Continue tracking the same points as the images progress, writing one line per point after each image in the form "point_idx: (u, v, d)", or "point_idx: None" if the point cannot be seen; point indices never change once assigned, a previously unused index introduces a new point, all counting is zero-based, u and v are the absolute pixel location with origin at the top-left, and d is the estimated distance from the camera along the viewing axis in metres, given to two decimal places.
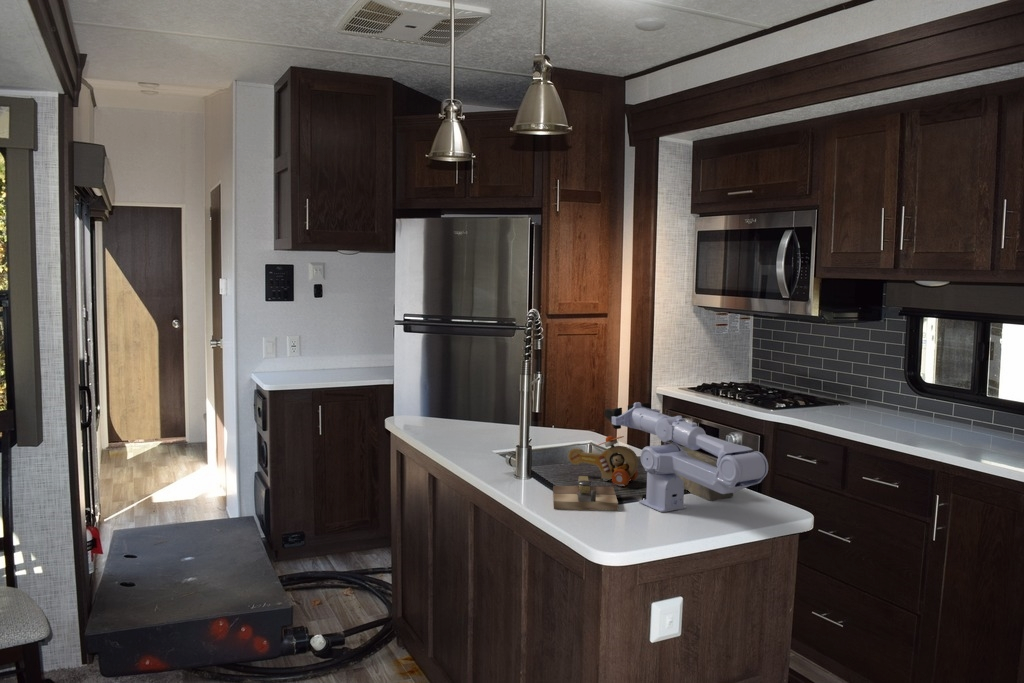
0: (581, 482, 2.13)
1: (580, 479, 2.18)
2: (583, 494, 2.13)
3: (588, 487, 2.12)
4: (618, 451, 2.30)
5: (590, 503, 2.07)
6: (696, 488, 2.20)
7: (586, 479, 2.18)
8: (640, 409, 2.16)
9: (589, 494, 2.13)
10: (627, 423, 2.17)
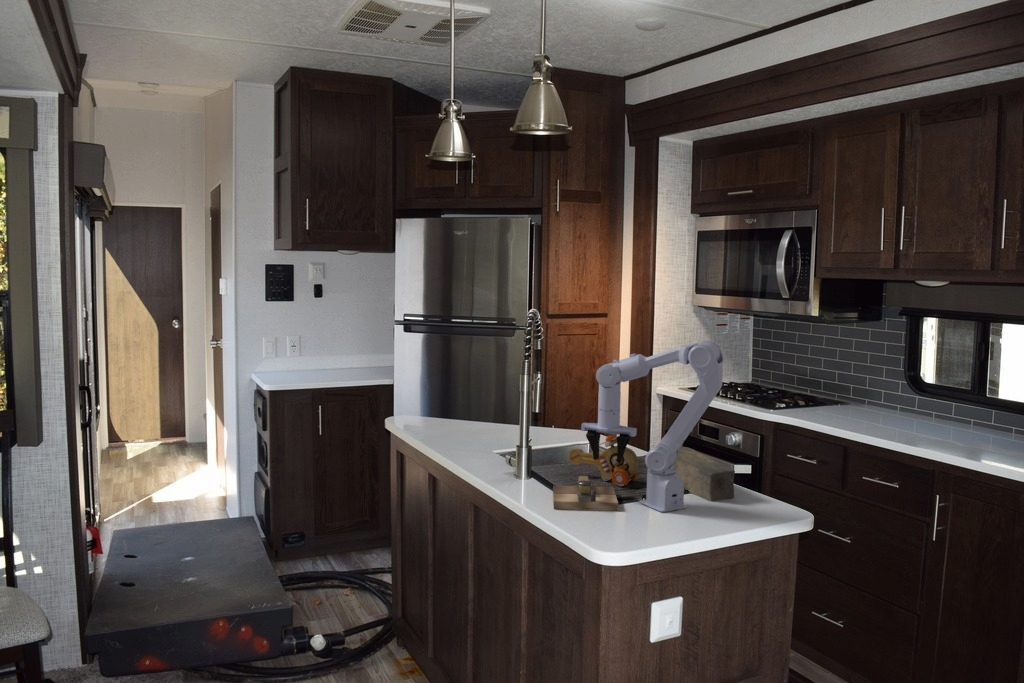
0: (581, 482, 2.13)
1: (580, 479, 2.18)
2: (583, 494, 2.13)
3: (588, 487, 2.12)
4: None
5: (590, 503, 2.07)
6: (697, 488, 2.20)
7: (586, 479, 2.18)
8: (608, 420, 2.13)
9: (589, 494, 2.13)
10: None
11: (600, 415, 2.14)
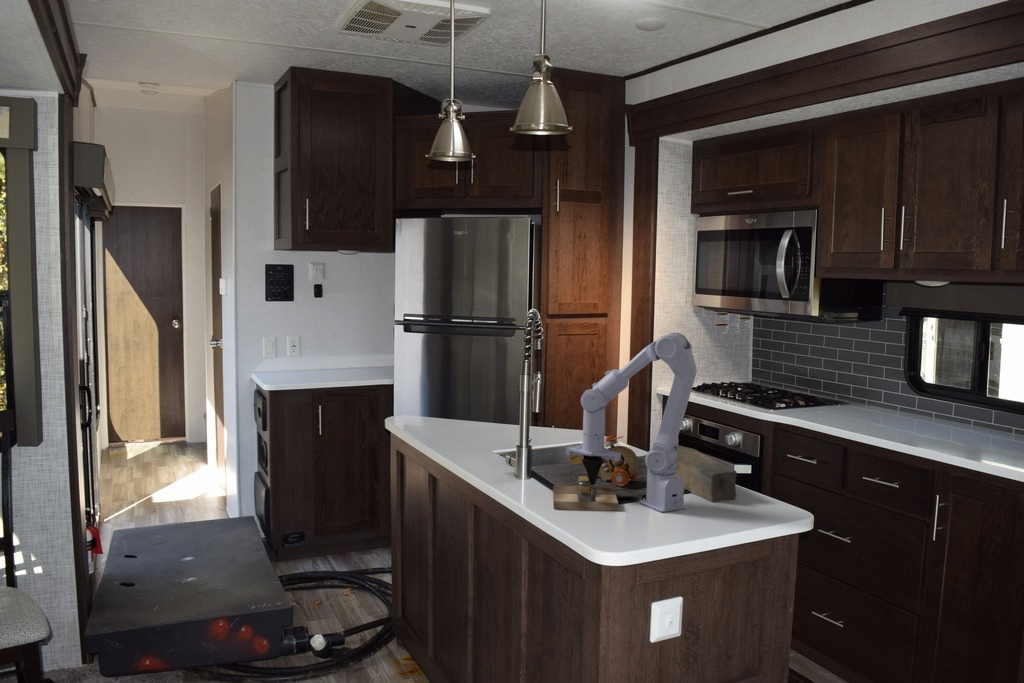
0: (581, 482, 2.13)
1: (580, 479, 2.18)
2: (583, 494, 2.13)
3: (588, 487, 2.12)
4: (618, 451, 2.30)
5: (590, 503, 2.07)
6: (698, 489, 2.19)
7: (586, 479, 2.18)
8: (592, 445, 2.15)
9: (589, 494, 2.13)
10: None
11: (585, 439, 2.16)
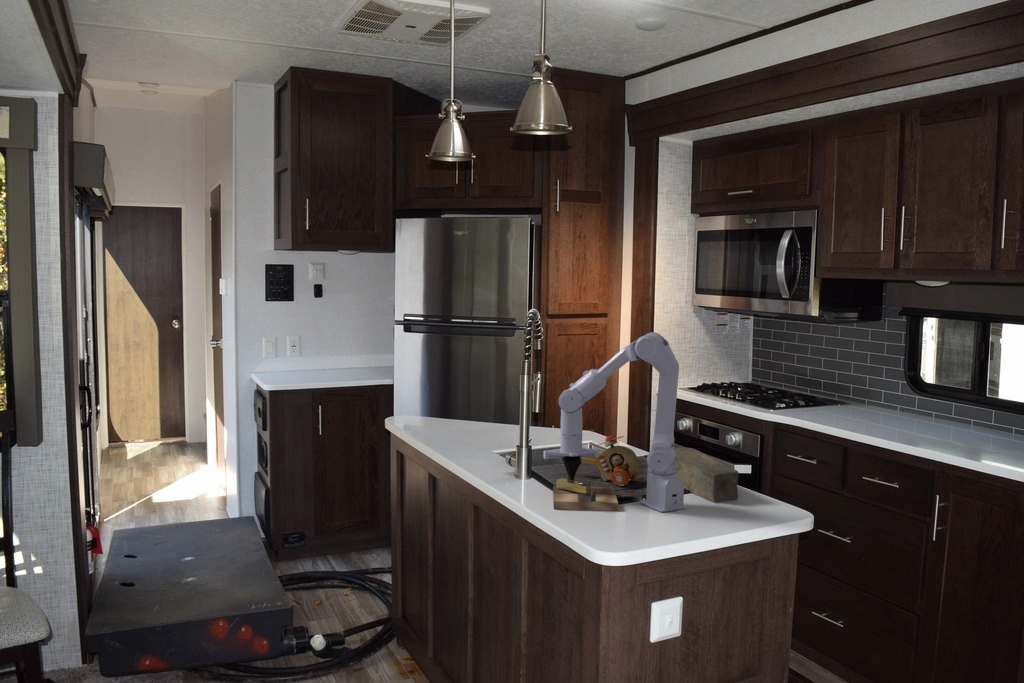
0: (583, 483, 2.12)
1: (567, 481, 2.15)
2: (583, 494, 2.13)
3: (590, 486, 2.13)
4: (618, 451, 2.30)
5: (590, 503, 2.07)
6: (700, 490, 2.19)
7: (570, 480, 2.17)
8: (576, 445, 2.15)
9: (589, 494, 2.13)
10: (581, 450, 2.20)
11: (567, 441, 2.15)
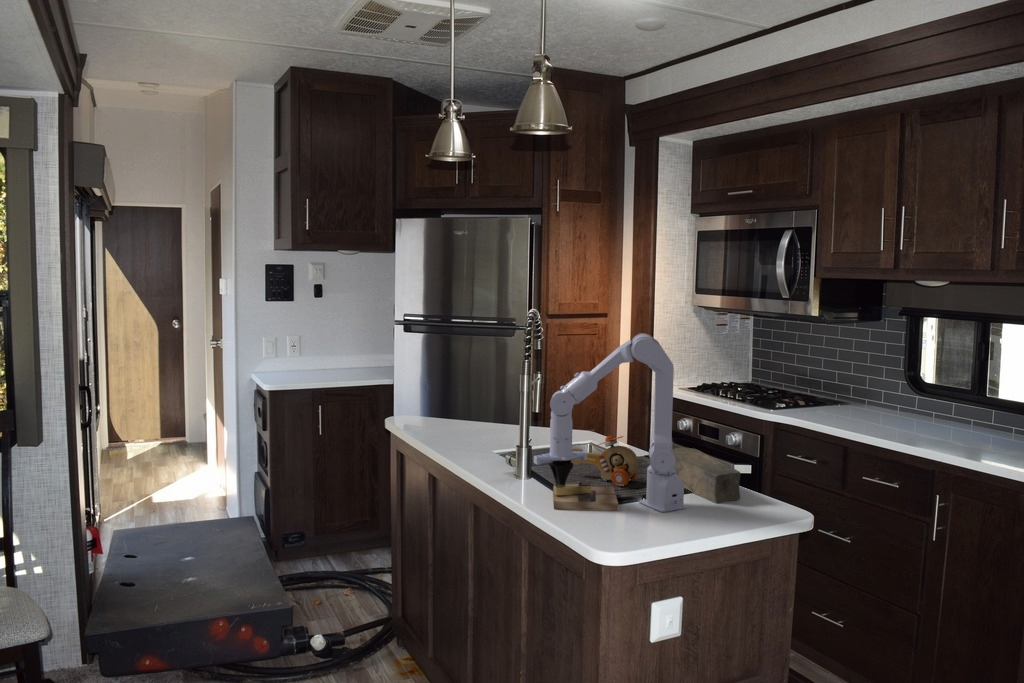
0: (586, 483, 2.13)
1: (568, 486, 2.11)
2: (583, 494, 2.13)
3: None
4: (618, 451, 2.30)
5: (590, 503, 2.07)
6: (702, 490, 2.18)
7: (566, 484, 2.13)
8: (568, 448, 2.11)
9: (589, 494, 2.13)
10: None
11: (560, 445, 2.10)
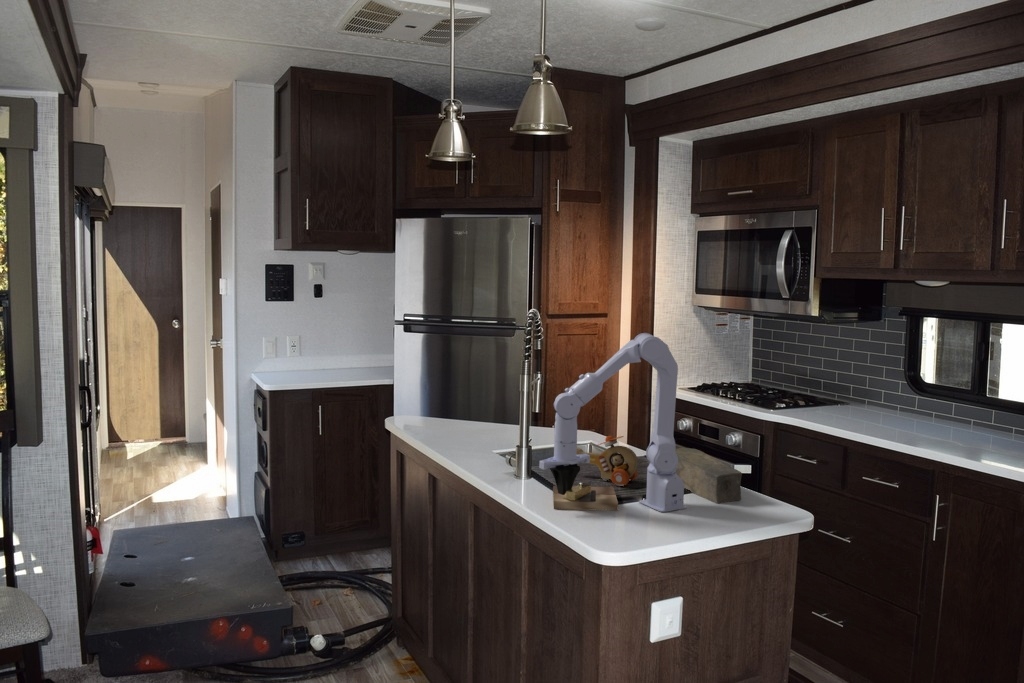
0: (588, 482, 2.13)
1: (579, 489, 2.09)
2: None
3: None
4: (618, 451, 2.30)
5: (590, 503, 2.07)
6: (703, 490, 2.18)
7: (573, 488, 2.10)
8: (574, 452, 2.07)
9: (589, 494, 2.13)
10: None
11: (566, 448, 2.06)
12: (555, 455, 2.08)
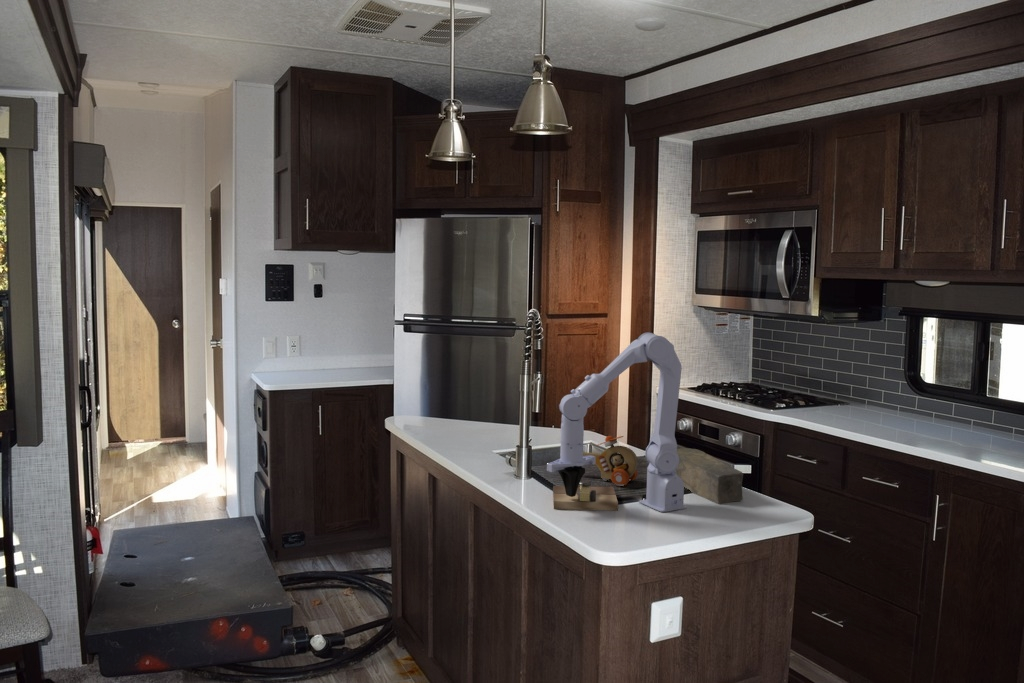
0: (588, 482, 2.13)
1: (588, 489, 2.09)
2: None
3: None
4: (618, 451, 2.30)
5: (590, 503, 2.07)
6: (705, 491, 2.18)
7: (581, 489, 2.09)
8: (581, 454, 2.05)
9: None
10: None
11: (573, 450, 2.04)
12: (562, 457, 2.06)
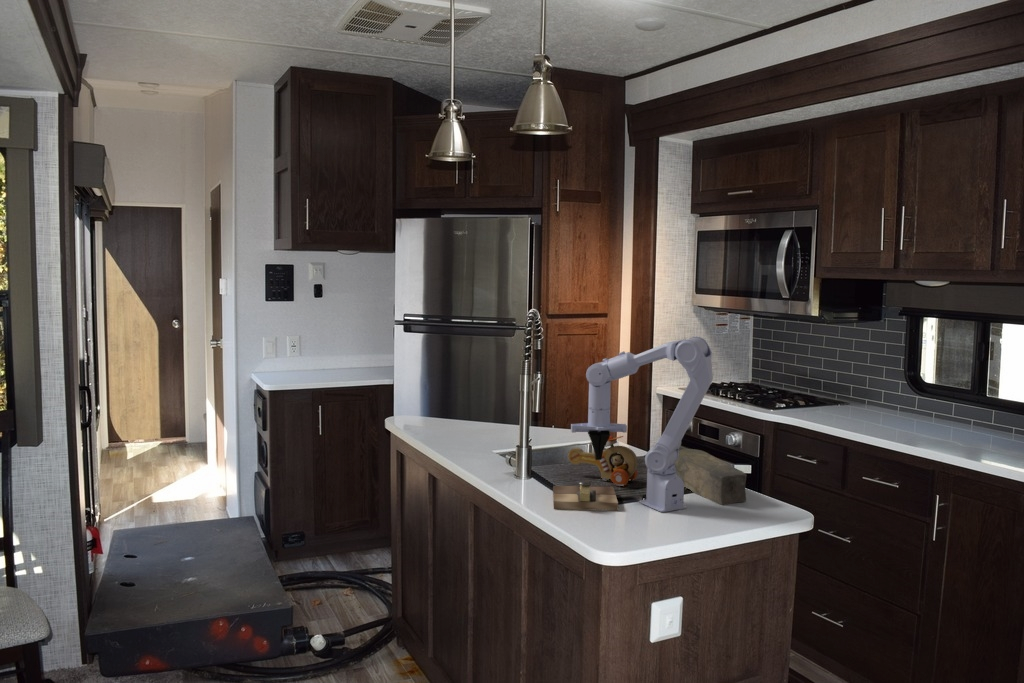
0: (588, 482, 2.13)
1: (588, 489, 2.09)
2: None
3: None
4: (617, 451, 2.30)
5: (590, 503, 2.07)
6: (708, 492, 2.17)
7: (581, 489, 2.09)
8: (603, 419, 2.14)
9: None
10: (610, 425, 2.19)
11: (595, 414, 2.14)
12: (588, 421, 2.17)
